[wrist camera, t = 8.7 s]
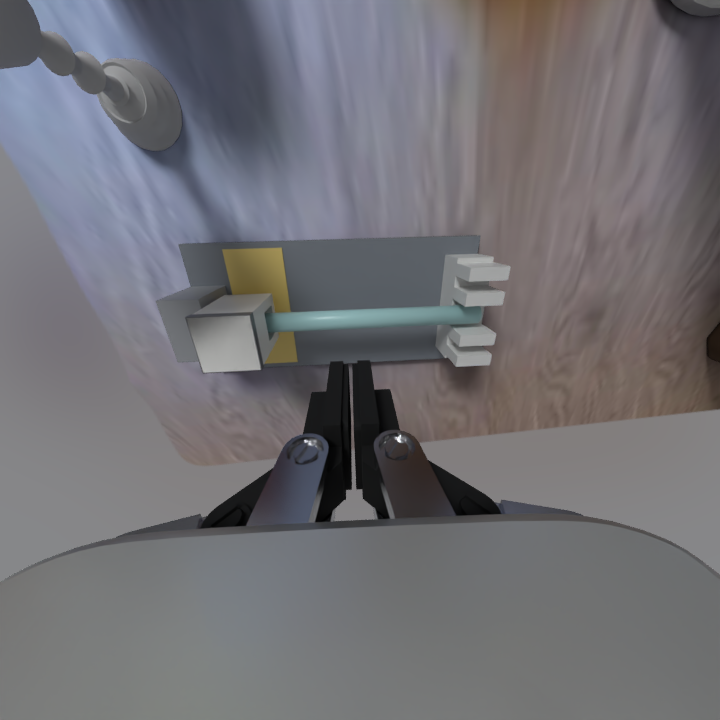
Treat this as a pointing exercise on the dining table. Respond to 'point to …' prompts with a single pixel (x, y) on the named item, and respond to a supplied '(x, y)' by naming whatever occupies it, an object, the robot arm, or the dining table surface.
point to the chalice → (96, 78)
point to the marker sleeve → (233, 333)
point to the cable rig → (349, 297)
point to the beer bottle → (714, 344)
